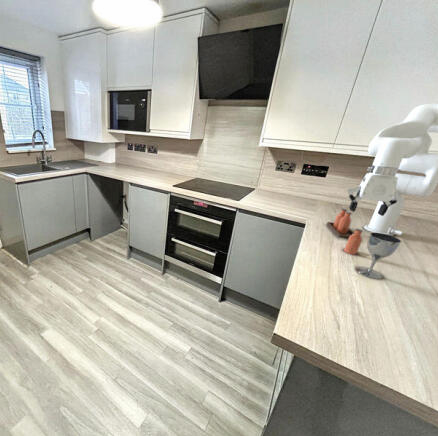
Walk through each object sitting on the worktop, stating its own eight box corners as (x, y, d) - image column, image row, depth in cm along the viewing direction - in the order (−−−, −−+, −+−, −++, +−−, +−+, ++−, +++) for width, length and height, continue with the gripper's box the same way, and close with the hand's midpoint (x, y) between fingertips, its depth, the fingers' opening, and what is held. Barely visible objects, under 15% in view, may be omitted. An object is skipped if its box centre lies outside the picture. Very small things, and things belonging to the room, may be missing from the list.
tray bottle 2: (348, 232, 123) (356, 213, 119) (343, 234, 122) (351, 214, 118) (339, 229, 127) (346, 210, 123) (334, 230, 125) (341, 211, 121)
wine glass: (376, 281, 84) (394, 244, 78) (350, 269, 91) (365, 234, 85) (387, 276, 87) (405, 240, 81) (362, 265, 94) (377, 231, 88)
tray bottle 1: (344, 228, 128) (351, 210, 125) (339, 229, 127) (346, 210, 123) (335, 225, 132) (342, 207, 128) (330, 226, 130) (337, 208, 126)
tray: (326, 225, 134) (327, 221, 134) (343, 227, 132) (344, 224, 131) (338, 238, 118) (339, 234, 117) (358, 241, 115) (359, 238, 114)
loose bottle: (358, 253, 103) (368, 230, 99) (353, 255, 102) (362, 232, 98) (347, 249, 107) (356, 226, 103) (341, 250, 105) (350, 228, 101)
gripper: (360, 170, 91) (344, 211, 97) (418, 175, 85) (397, 219, 91) (352, 167, 97) (338, 206, 103) (405, 172, 92) (387, 213, 98)
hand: (366, 212), depth 97 cm, fingers open, 9 cm apart
